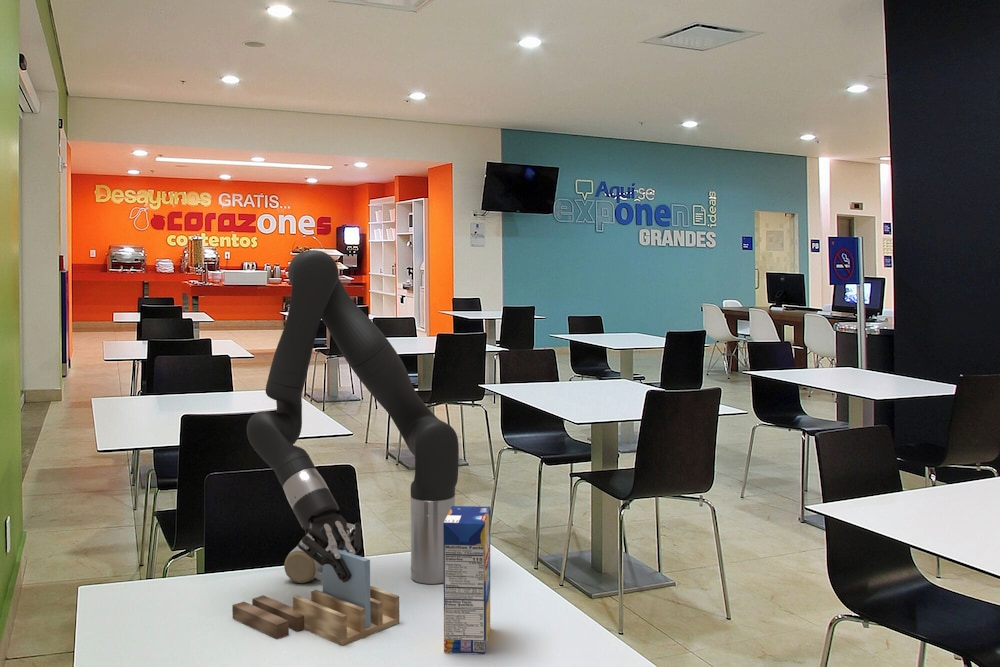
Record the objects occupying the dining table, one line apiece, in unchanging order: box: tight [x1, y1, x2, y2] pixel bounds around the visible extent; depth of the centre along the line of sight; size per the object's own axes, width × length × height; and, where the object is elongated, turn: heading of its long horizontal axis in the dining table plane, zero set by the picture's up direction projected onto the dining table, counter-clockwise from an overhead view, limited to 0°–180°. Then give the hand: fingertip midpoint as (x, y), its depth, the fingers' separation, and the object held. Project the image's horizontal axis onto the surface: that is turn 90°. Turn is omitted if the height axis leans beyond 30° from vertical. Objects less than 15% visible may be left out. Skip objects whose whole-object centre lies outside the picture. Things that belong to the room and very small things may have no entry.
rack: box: [292, 585, 400, 647], centre depth 156 cm, size 14×13×5 cm
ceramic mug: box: [283, 545, 323, 584], centre depth 179 cm, size 11×8×8 cm
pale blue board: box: [322, 549, 371, 628], centre depth 155 cm, size 12×1×12 cm, turn 49°
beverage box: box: [443, 505, 491, 655], centre depth 148 cm, size 7×11×22 cm, turn 176°
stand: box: [231, 595, 305, 640], centre depth 156 cm, size 14×7×2 cm, turn 49°
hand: (352, 577), depth 154 cm, fingers closed
